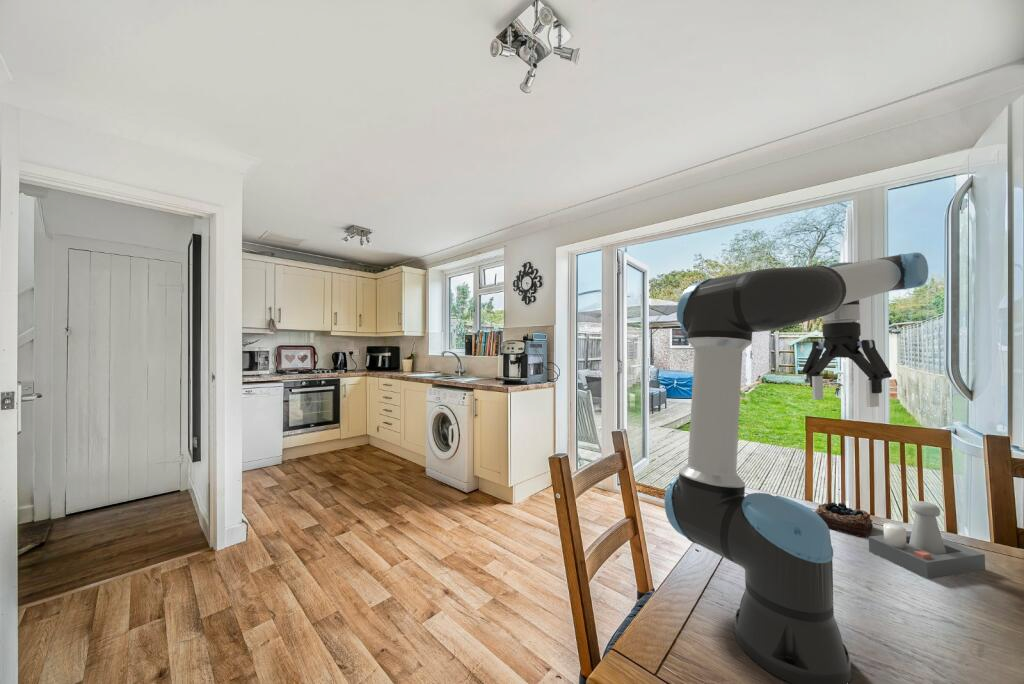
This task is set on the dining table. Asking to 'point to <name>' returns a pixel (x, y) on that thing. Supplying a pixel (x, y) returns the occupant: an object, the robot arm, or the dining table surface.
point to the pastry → (845, 519)
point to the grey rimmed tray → (924, 555)
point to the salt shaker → (926, 528)
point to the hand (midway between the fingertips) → (843, 402)
